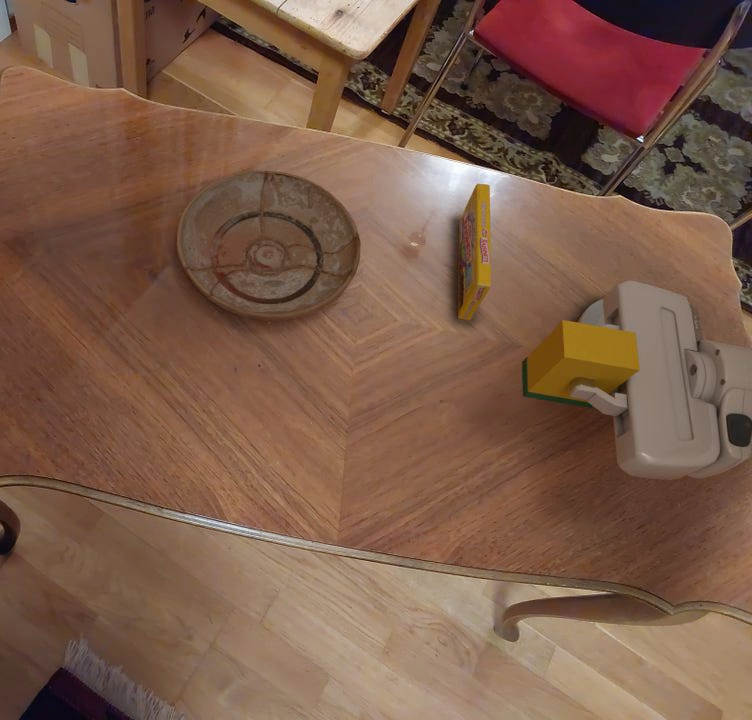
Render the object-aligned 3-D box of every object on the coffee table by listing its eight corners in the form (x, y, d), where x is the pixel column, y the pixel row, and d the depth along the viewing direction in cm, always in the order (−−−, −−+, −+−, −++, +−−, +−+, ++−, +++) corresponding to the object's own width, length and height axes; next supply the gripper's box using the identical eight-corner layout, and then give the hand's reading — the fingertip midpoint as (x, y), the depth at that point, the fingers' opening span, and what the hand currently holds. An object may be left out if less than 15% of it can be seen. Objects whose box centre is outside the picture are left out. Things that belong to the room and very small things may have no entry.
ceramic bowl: (326, 360, 81) (333, 341, 77) (150, 302, 83) (147, 280, 79) (372, 222, 92) (380, 198, 87) (214, 173, 94) (214, 147, 89)
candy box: (455, 222, 93) (476, 181, 86) (470, 224, 93) (492, 184, 86) (454, 318, 86) (477, 283, 78) (471, 321, 86) (495, 286, 78)
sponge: (521, 361, 69) (561, 319, 61) (587, 373, 69) (636, 332, 61) (522, 396, 67) (563, 357, 59) (590, 408, 67) (640, 370, 59)
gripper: (715, 281, 66) (580, 257, 66) (752, 476, 56) (594, 448, 56) (676, 313, 71) (551, 291, 71) (703, 495, 62) (560, 470, 62)
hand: (570, 362), depth 64 cm, fingers closed on sponge, 4 cm apart
